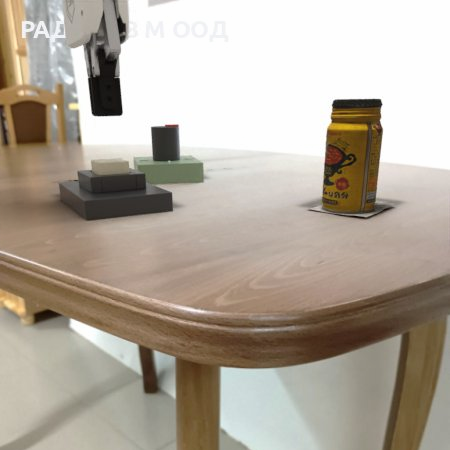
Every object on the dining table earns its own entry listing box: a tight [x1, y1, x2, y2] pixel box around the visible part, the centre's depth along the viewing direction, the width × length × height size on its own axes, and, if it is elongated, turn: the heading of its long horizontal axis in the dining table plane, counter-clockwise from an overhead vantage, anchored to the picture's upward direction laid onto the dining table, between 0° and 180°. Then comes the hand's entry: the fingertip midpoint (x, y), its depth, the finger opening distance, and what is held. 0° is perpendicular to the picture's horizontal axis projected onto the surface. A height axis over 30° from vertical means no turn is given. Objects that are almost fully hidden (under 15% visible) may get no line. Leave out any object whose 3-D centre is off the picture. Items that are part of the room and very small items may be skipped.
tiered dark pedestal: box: [58, 167, 174, 222], centre depth 59 cm, size 14×10×4 cm
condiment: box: [309, 98, 395, 218], centre depth 55 cm, size 7×8×12 cm
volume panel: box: [132, 154, 205, 185], centre depth 79 cm, size 11×10×3 cm
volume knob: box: [150, 123, 181, 161], centre depth 78 cm, size 4×4×5 cm
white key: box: [90, 157, 130, 176], centre depth 58 cm, size 4×4×2 cm
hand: (107, 115), depth 56 cm, fingers closed
